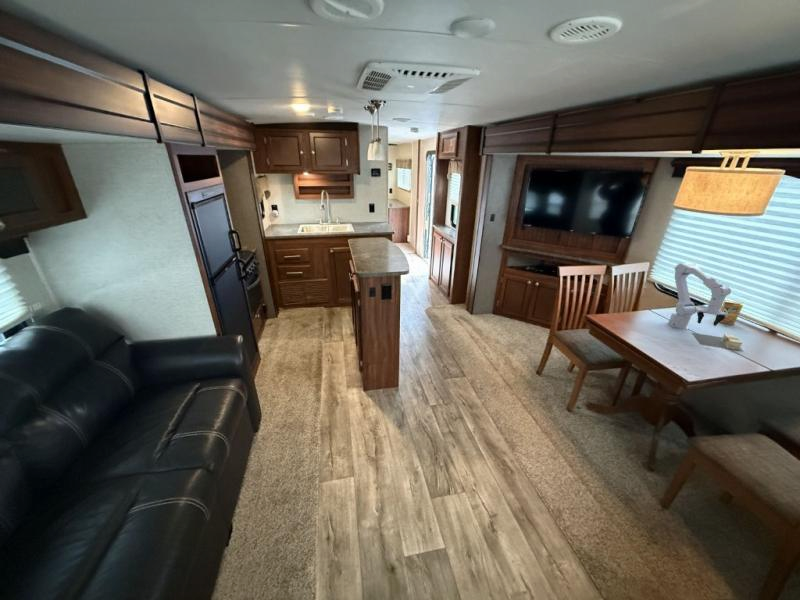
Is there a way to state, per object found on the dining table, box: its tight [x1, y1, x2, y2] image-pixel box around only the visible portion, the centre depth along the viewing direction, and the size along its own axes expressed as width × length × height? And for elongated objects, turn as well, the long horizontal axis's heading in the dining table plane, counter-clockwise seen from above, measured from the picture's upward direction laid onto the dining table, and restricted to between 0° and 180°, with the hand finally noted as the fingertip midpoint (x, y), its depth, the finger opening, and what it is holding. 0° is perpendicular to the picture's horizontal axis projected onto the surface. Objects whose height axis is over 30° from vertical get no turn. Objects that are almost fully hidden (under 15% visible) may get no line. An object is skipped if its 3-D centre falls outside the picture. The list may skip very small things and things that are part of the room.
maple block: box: [722, 333, 743, 349], centre depth 187 cm, size 9×5×4 cm, turn 154°
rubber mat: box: [691, 332, 745, 353], centre depth 191 cm, size 20×16×1 cm
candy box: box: [719, 299, 744, 326], centre depth 212 cm, size 9×4×15 cm, turn 49°
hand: (706, 324), depth 194 cm, fingers open, 7 cm apart
